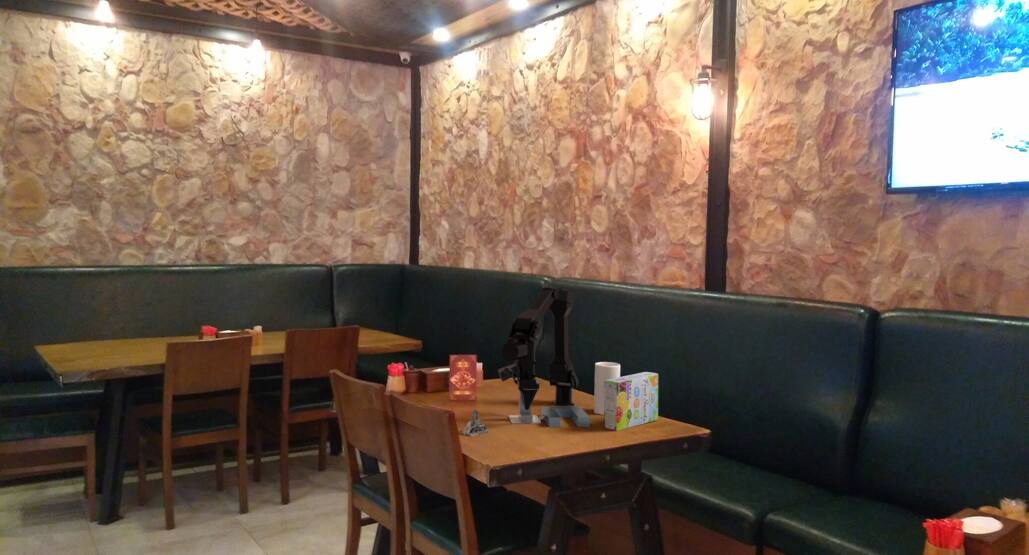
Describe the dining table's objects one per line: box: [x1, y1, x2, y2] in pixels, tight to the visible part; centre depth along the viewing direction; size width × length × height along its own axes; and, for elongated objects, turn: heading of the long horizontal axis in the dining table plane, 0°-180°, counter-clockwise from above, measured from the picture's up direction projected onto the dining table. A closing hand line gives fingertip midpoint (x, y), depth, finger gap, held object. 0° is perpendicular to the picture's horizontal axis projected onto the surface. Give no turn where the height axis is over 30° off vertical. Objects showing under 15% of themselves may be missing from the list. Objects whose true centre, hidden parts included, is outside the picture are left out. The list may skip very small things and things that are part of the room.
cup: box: [593, 361, 621, 416], centre depth 261 cm, size 8×8×16 cm
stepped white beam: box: [518, 390, 534, 424], centre depth 246 cm, size 7×4×9 cm, turn 7°
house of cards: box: [461, 408, 489, 437], centre depth 232 cm, size 9×9×8 cm
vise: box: [538, 405, 591, 428], centre depth 248 cm, size 15×14×3 cm
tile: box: [508, 414, 542, 424], centre depth 248 cm, size 9×9×1 cm
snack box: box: [603, 371, 659, 432], centre depth 245 cm, size 21×6×15 cm, turn 135°
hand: (524, 406), depth 248 cm, fingers open, 9 cm apart
